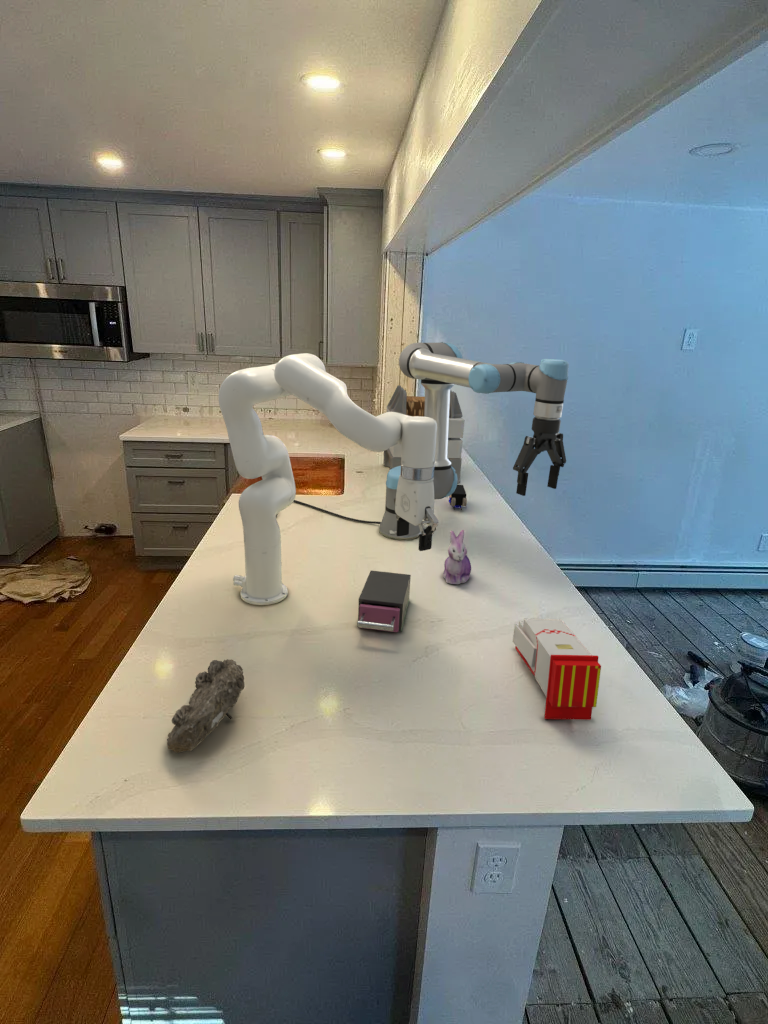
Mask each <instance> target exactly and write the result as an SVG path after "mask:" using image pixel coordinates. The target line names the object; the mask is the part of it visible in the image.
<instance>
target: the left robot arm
mask: <svg viewBox="0 0 768 1024" xmlns="http://www.w3.org/2000/svg"><path fill="white" fill-rule="evenodd" d="M288 396H293V397H295V398H296V399H298V400H301V401H303V402H304V403H305V404H307V405H309V406H310V407H312V408H313V409H314V410H316V411H318V412H320V413H321V414H323V415H325V416H326V418H327V419H328V421H329V422H330V424H332V426H333V427H334V428H335V429H336V430H337V431H338V432H339V433H340V434H341V435H342V436H343V437H345V438H346V439H348V440H350V441H351V442H352V443H354V444H356V445H358V446H359V447H361V448H363V449H365V450H367V451H370V452H374V453H382V452H383V453H384V451H385V450H387V449H389V448H390V447H392V446H395V445H398V444H402V454H401V475H400V476H399V480H398V485H397V492H396V498H394V503H395V512H396V514H397V515H396V519H397V533H396V535H397V536H404V535H408V534H409V523H411V524H413V525H419V528H420V531H421V534H419V537H418V551H419V552H423V551H428V550H431V549H432V546H433V535H434V534H435V531H437V528H438V525H439V523H440V521H439V519H438V517H437V516H436V514H435V500H434V484H433V480H434V464H435V450H436V435H437V423H436V421H435V420H434V419H432V418H429V417H423V416H408V415H404V414H401V413H397V412H387V411H386V412H383V413H381V414H378V415H376V416H375V415H374V414H372V413H370V412H368V411H367V410H366V409H363V408H362V407H360V406H359V405H358V404H356V403H355V402H354V401H353V400H352V399H351V398H350V397H349V394H348V388H347V384H346V383H345V382H344V381H343V380H341V379H339V378H337V377H336V376H334V375H332V374H330V373H329V372H327V370H326V366H325V364H324V362H323V360H321V358H319V357H318V356H317V355H315V354H313V353H309V352H308V353H307V352H304V353H303V352H302V353H294V354H289V355H285V356H284V357H281V358H280V359H279V360H278V362H276V363H272V364H268V365H262V366H253V367H246V368H241V369H238V370H236V371H234V372H232V373H230V374H229V375H228V376H227V377H225V378H224V380H223V381H222V383H221V385H220V387H219V390H218V396H217V397H218V398H217V399H218V405H219V408H220V412H221V416H222V418H223V421H224V425H225V429H226V432H227V437H228V441H229V445H230V449H231V454H232V457H233V458H232V459H233V462H234V465H235V469H236V472H237V473H238V474H239V476H241V477H242V478H243V479H246V480H253V479H257V478H261V480H258V481H257V482H255V483H252V484H251V485H248V487H246V488H245V489H243V491H242V492H241V493H240V496H239V499H238V511H239V515H240V518H241V522H242V530H243V546H244V547H243V548H244V549H243V550H244V571H245V575H244V576H243V575H239V574H235V575H233V577H232V580H233V584H232V585H233V586H235V587H241V590H240V593H239V594H240V598H241V600H242V601H243V602H245V603H247V604H250V605H253V606H268V605H273V604H277V603H280V602H282V601H283V600H284V599H286V598H287V596H288V593H289V588H288V587H287V586H286V584H284V583H283V571H282V570H283V569H282V568H283V567H282V566H283V565H282V563H283V562H282V532H281V527H280V525H279V523H278V520H277V516H276V514H277V513H278V514H279V513H280V512H282V511H284V510H286V509H287V508H289V507H290V506H291V505H292V504H293V503H294V502H293V501H294V500H296V496H297V487H296V482H295V476H294V473H293V469H292V467H293V466H292V462H291V458H290V455H289V451H288V448H287V446H286V445H285V443H284V442H283V441H282V439H280V437H277V436H275V435H273V434H264V431H263V424H262V421H261V419H260V416H259V415H258V413H257V411H256V410H255V409H254V406H255V405H258V404H262V403H266V402H270V401H275V400H279V399H282V398H285V397H288ZM278 514H277V515H278ZM425 525H426V527H425Z"/></svg>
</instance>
